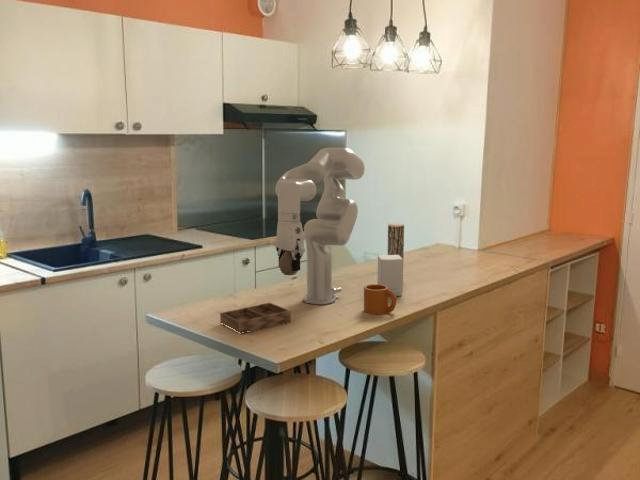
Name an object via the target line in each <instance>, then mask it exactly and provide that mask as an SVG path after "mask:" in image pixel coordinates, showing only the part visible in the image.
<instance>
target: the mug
mask: <svg viewBox="0 0 640 480" xmlns="http://www.w3.org/2000/svg"><path fill="white" fill-rule="evenodd" d="M396 297H397V296H395V295H394V293H393V292H392V291H391V290H388V286H386V285H381V284H378V283H375V284H373V283H372V284H368V285H367V284H366V285H364V287H363V311H364V313H366V314H369V315H383V314H387V313H388V314H389V313H392V312H393V311H394V309H396V306H397V298H396ZM389 298H390V301H391V303H390V305H389Z"/></svg>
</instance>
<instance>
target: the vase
mask: <svg viewBox="0 0 640 480" xmlns="http://www.w3.org/2000/svg"><path fill="white" fill-rule="evenodd" d="M296 254H297V253H295V255H296ZM292 260H293V257H292V253H291V252H290V251H286V250H285V252H284V254H283V255H282V256H281V258H280V262H279V261H278V268H279V267H280V268H279V271H280V272H281V273H282V275H285V276H294V275H296V274H297V273H298V272H299V271H292Z"/></svg>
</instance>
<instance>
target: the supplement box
mask: <svg viewBox="0 0 640 480" xmlns="http://www.w3.org/2000/svg"><path fill="white" fill-rule="evenodd" d="M403 281H404V258H403V259H402V258H401V257H400V256H399V255H388V254H378V255H377V284H381V285H386V286H388V290H391V291H392V292H393V293H394V295H395V297H403V285H404V284H403V283H404V282H403Z"/></svg>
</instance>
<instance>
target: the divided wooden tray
mask: <svg viewBox="0 0 640 480" xmlns="http://www.w3.org/2000/svg"><path fill="white" fill-rule="evenodd" d="M291 315H292V313H291V310H289V309H287V308H284V307H281V306H279V305H277V304H275V303H272V302H265V303H260V304H257V305H252V306H247V307H243V308H238V309H233V310H229V311H223V312H220V314H219V316H220V318H219V319H220V322H219V323H220V324H221V323H223V324H225V325H227V326H229V327H231V328H233V329H235V330H236V331H238V332H240V333H242V332H247V331H253V330H257V331H259V330H258V329H261V330H263V329H262V328H265V329H268V328H267V327H269V328H272V327H271V326H273V327H276V326H275V325H277V326H279V324H281V325H284V324H283V323H285V324H288V323H287V322H289V323H291V322H292V320H291ZM253 332H254V331H253Z"/></svg>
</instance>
